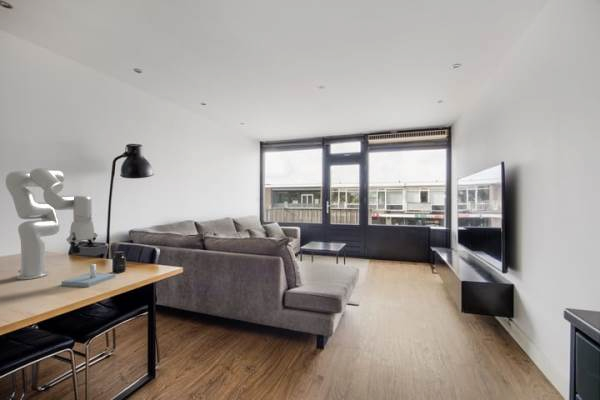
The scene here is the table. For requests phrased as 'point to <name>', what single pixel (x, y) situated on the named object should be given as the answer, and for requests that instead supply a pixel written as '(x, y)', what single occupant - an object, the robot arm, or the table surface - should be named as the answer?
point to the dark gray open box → (91, 249)
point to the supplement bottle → (119, 262)
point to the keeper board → (89, 278)
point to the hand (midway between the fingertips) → (82, 251)
